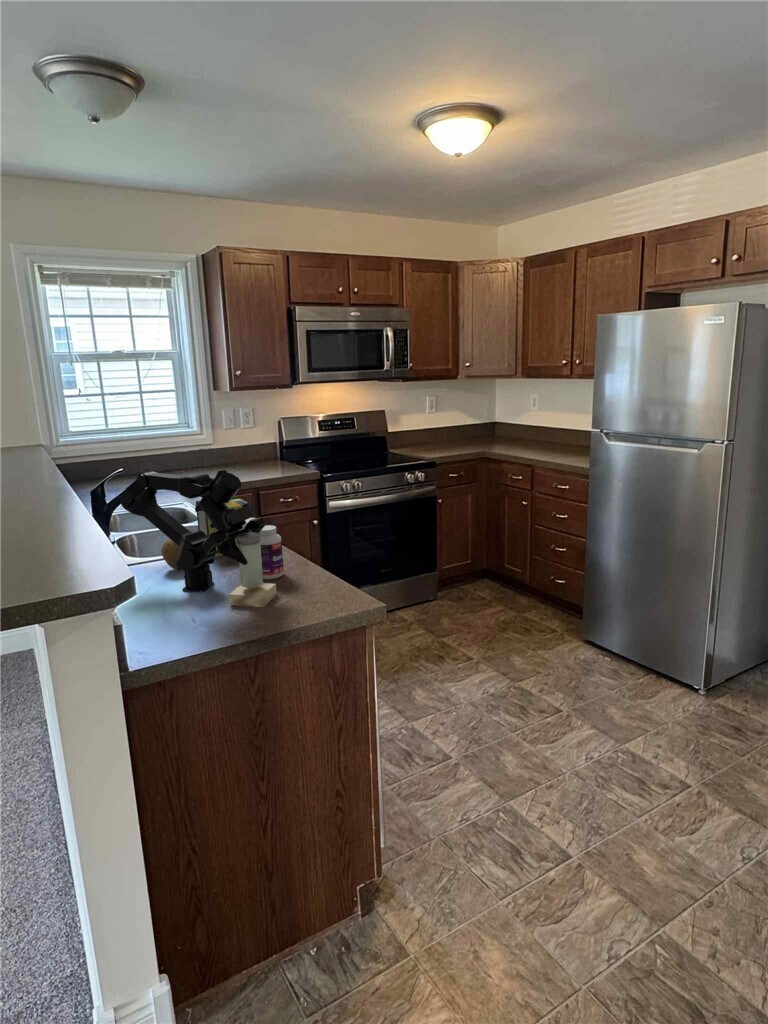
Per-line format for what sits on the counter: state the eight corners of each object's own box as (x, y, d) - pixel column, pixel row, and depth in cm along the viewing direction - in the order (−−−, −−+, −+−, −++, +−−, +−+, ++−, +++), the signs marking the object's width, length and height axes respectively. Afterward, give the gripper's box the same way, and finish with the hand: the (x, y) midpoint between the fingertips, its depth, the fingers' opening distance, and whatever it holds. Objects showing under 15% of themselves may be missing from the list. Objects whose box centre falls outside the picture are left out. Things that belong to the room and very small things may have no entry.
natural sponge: (171, 563, 194) (168, 532, 192) (199, 564, 193) (196, 532, 191) (158, 573, 186) (154, 541, 183) (187, 574, 185) (184, 541, 182)
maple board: (230, 605, 160) (229, 594, 159) (245, 592, 169) (244, 582, 168) (262, 607, 158) (262, 596, 157) (276, 594, 167) (275, 583, 166)
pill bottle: (278, 581, 176) (274, 532, 173) (251, 580, 178) (247, 531, 174) (288, 571, 184) (284, 524, 181) (262, 570, 186) (258, 523, 182)
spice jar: (237, 588, 159) (233, 539, 156) (243, 579, 165) (239, 532, 162) (261, 588, 159) (257, 539, 156) (266, 579, 165) (262, 532, 162)
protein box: (256, 549, 207) (252, 503, 203) (211, 558, 199) (206, 511, 195) (243, 542, 215) (239, 498, 212) (199, 550, 207) (194, 505, 203)
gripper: (206, 502, 151) (244, 552, 148) (258, 487, 166) (293, 532, 164) (186, 529, 157) (222, 578, 154) (238, 513, 172) (272, 557, 169)
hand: (254, 560), depth 160 cm, fingers closed on spice jar, 6 cm apart
